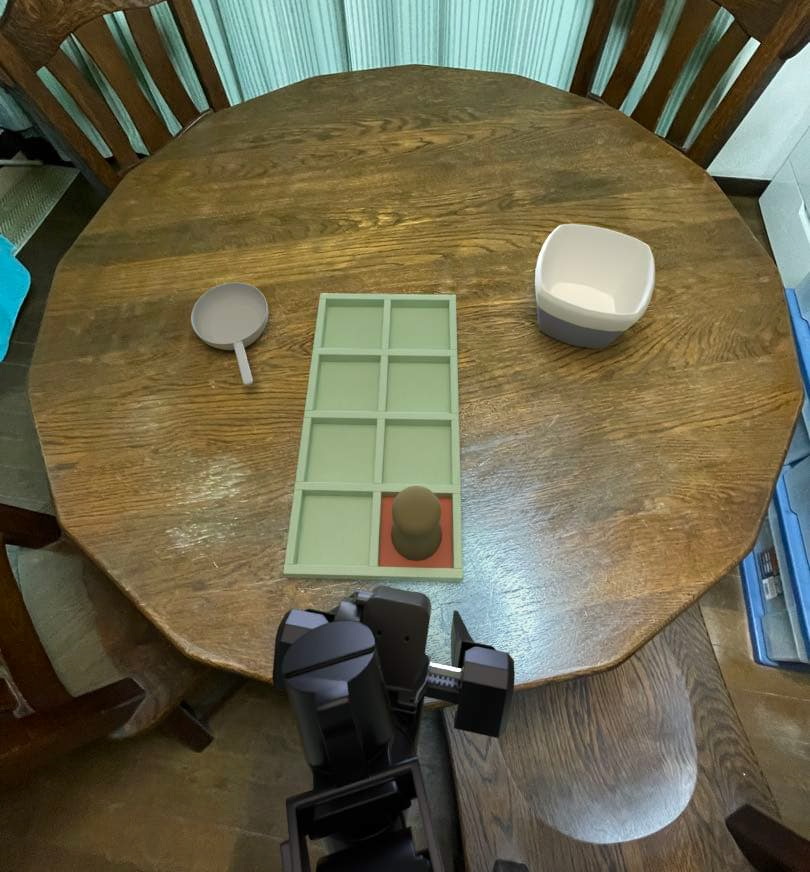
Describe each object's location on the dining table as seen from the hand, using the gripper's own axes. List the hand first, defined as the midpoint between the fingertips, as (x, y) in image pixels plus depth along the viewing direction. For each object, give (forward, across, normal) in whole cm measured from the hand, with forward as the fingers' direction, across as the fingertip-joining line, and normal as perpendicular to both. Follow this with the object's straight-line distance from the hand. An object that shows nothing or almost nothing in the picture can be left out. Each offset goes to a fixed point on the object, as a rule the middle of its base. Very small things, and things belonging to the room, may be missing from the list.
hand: (406, 604), depth 55 cm
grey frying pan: (+30, +30, -14) cm, 45 cm away
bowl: (+40, -17, -23) cm, 49 cm away
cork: (+15, +1, +2) cm, 15 cm away
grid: (+24, +8, -8) cm, 27 cm away
